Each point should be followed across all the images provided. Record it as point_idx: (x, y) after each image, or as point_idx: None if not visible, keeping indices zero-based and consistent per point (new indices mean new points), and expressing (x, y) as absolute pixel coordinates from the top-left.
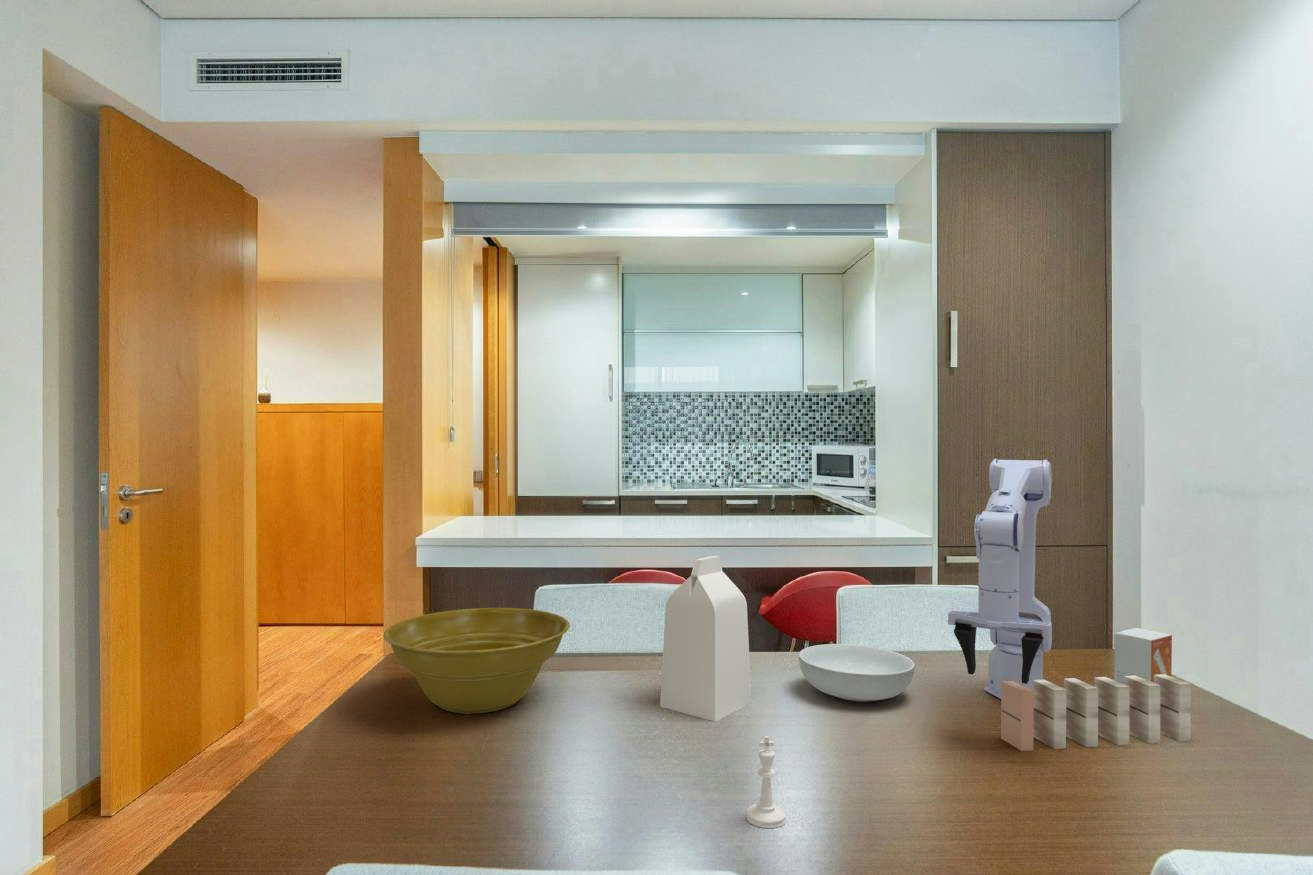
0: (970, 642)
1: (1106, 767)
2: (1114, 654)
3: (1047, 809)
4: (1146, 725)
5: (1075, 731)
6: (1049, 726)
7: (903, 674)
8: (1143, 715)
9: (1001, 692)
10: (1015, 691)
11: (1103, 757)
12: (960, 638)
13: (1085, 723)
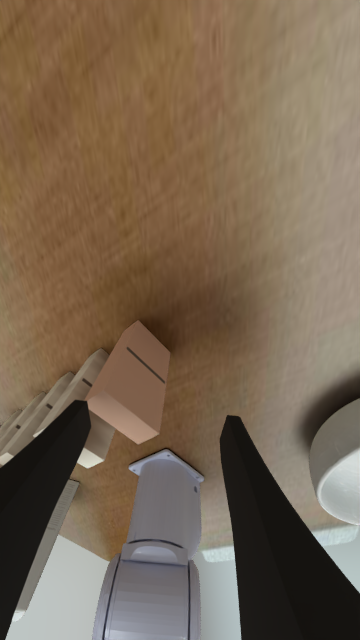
0: (271, 571)
1: (27, 315)
2: (46, 561)
3: (34, 16)
4: (6, 429)
5: None
6: (97, 373)
7: (346, 449)
8: None
9: (162, 411)
10: (123, 398)
11: (42, 347)
12: (349, 606)
13: (52, 396)
